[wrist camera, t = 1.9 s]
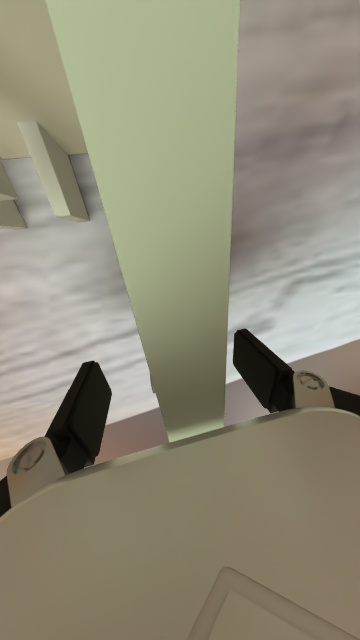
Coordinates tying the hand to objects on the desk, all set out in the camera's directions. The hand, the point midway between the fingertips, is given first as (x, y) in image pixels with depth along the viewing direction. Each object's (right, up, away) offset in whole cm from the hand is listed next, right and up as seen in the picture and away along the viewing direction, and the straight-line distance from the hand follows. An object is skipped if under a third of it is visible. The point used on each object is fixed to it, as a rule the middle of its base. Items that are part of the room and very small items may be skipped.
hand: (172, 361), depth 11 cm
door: (-1, +7, +8) cm, 10 cm away
